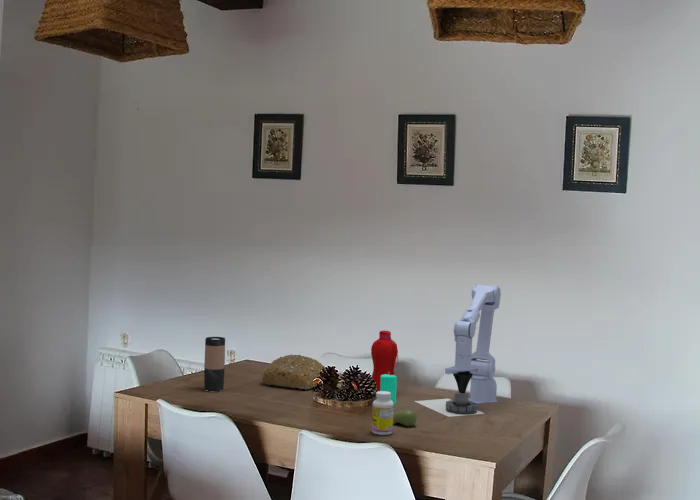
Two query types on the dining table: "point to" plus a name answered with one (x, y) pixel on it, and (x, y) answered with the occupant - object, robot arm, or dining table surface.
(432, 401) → the mat
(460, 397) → the cap
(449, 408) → the toothed grey gear
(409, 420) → the pear
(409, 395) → the dining table surface
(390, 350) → the water bottle
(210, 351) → the travel mug
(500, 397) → the dining table surface
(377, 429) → the supplement bottle
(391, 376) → the candle
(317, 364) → the bread
